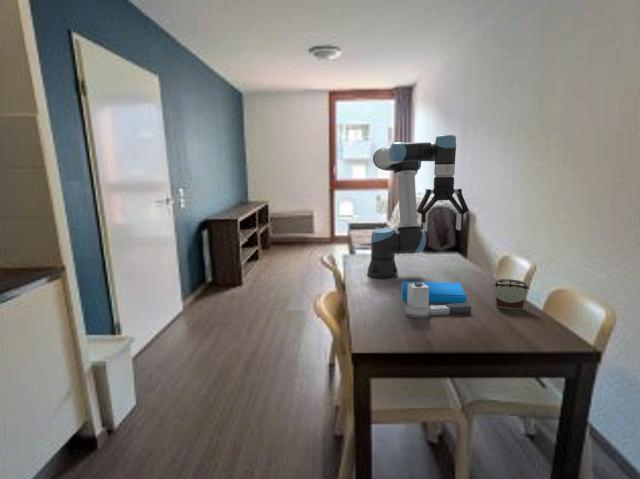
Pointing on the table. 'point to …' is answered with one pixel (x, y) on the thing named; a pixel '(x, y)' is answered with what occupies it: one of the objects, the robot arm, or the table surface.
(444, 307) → the ratchet
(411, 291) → the grey block with knob
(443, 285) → the book
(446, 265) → the table surface
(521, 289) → the food container
